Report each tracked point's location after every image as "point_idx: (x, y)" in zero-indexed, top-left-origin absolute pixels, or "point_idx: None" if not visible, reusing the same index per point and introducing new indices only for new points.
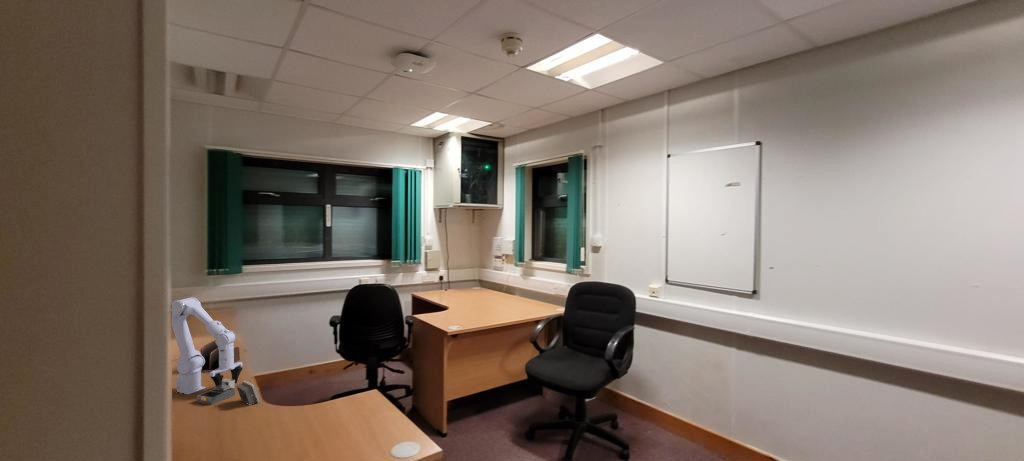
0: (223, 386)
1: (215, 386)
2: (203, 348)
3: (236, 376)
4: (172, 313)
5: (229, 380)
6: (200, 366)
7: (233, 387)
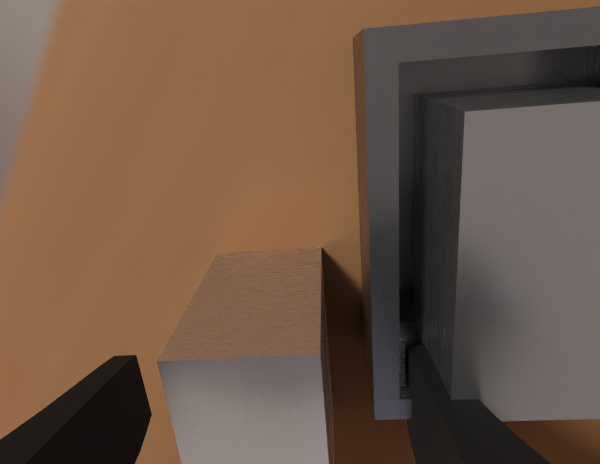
0: (543, 241)
1: (578, 408)
2: None
3: (50, 452)
4: None
5: (242, 421)
6: None
7: (227, 274)
